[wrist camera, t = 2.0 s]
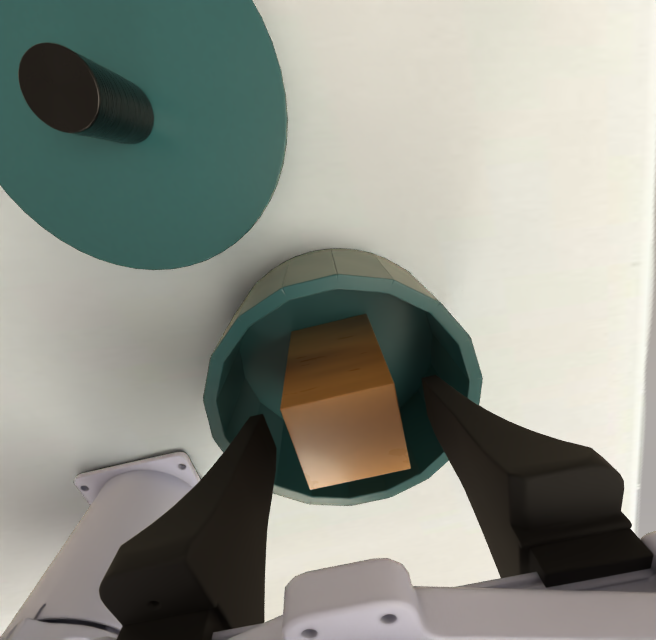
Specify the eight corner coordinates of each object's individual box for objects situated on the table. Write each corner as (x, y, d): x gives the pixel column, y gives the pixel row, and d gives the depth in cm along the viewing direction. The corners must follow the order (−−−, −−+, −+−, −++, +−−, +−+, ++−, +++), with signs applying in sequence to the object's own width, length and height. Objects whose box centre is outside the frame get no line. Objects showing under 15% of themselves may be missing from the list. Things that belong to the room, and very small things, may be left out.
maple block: (380, 377, 21) (411, 469, 14) (310, 393, 21) (309, 490, 14) (366, 313, 19) (394, 383, 12) (291, 331, 19) (279, 409, 13)
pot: (449, 409, 22) (489, 477, 17) (268, 449, 23) (255, 526, 18) (426, 222, 18) (473, 240, 12) (198, 280, 18) (154, 319, 13)
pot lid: (320, 229, 17) (322, 247, 13) (77, 291, 18) (-6, 330, 13) (228, -144, 12) (175, -348, 7) (-109, -35, 13) (-350, -157, 8)
